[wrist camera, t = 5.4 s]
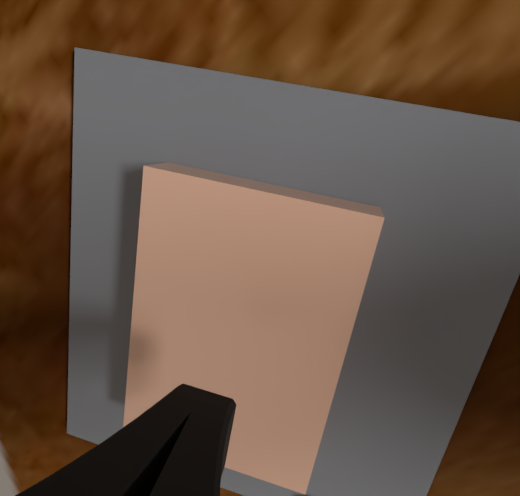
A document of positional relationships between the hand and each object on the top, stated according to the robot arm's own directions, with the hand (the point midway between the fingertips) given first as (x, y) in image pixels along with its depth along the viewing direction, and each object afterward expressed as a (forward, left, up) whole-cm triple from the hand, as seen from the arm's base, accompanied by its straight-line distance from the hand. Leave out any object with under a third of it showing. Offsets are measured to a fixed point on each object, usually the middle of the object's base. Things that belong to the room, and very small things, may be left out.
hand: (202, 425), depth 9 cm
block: (-3, 0, -4) cm, 5 cm away
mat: (0, 0, -6) cm, 6 cm away
